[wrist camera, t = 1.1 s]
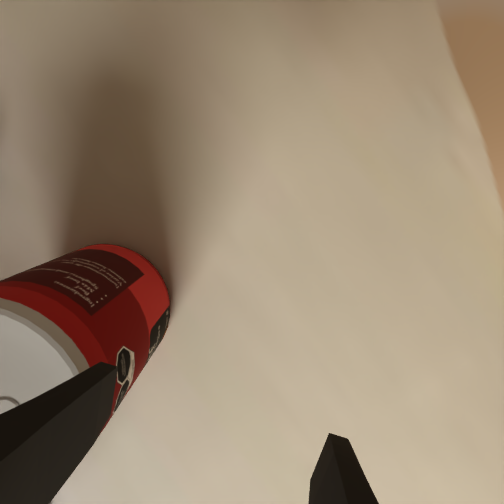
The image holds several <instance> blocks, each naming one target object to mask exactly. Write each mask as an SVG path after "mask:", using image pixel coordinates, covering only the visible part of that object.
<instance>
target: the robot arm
mask: <svg viewBox="0 0 504 504" xmlns="http://www.w3.org/2000/svg"><path fill="white" fill-rule="evenodd" d="M117 371H118V367H117V366H114V365H111V364H108V363H104V362H99V363H97V364H95V365H93V366H92V367H90V368H88V369H86V370H85V371H83V372H81V373H79V374H77V375H76V376H74V377H72V378H70V379H69V380H67V381H65V382H63V383H61V384H59V385H58V386H56V387H54V388H52V389H50V390H48V391H46V392H45V393H43V394H41V395H39V396H37V397H35V398H33V399H31V400H29V401H27V402H25V403H23V404H21V405H19V406H16V407H14V408H12V409H10V410H8V411H6V412H4V413H2V414H0V504H50V502H51V500H52V499H53V498H54V496H55V495H56V494H57V492H58V491H59V490H60V488H61V487H62V486H63V484H64V483H65V482H66V480H67V479H68V478H69V477H70V475H71V474H72V473H73V471H74V470H75V469H76V467H77V466H78V465H79V463H80V462H81V461H82V459H83V458H84V456H85V455H86V454H87V452H88V451H89V450H90V448H91V447H92V446H93V444H94V443H95V441H96V439H97V438H98V436H99V434H100V433H101V431H102V429H103V428H104V426H105V424H106V422H107V421H108V419H109V417H110V415H111V410H112V404H113V397H114V391H115V384H116V378H117ZM309 504H379V503H378V501H377V499H376V497H375V495H374V493H373V491H372V489H371V487H370V485H369V483H368V481H367V479H366V477H365V475H364V472H363V470H362V468H361V466H360V464H359V462H358V459H357V457H356V455H355V453H354V451H353V448H352V446H351V444H350V442H349V440H348V439H347V438H344V437H340V436H337V435H334V434H331V433H329V435H328V437H327V440H326V442H325V445H324V447H323V450H322V452H321V455H320V457H319V460H318V462H317V465H316V467H315V470H314V472H313V475H312V477H311V480H310V492H309Z"/></svg>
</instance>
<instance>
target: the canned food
mask: <svg viewBox="0 0 504 504" xmlns="http://www.w3.org/2000/svg"><path fill="white" fill-rule="evenodd" d="M169 318H170V300H169V295H168V291H167V288H166V285H165V283H164V280H163V278H162V277H161V275H160V274H159V272H158V271H157V269H156V268H155V267H154V266H153V265H152V264H151V263H150V262H149V261H148V260H147V259H145V258H144V257H143V256H141V255H140V254H138V253H136V252H134V251H132V250H130V249H127V248H124V247H120V246H116V245H108V244H97V245H90V246H87V247H84V248H82V249H79V250H76V251H74V252H71V253H69V254H66V255H64V256H61V257H59V258H56V259H54V260H51V261H49V262H46V263H44V264H41V265H39V266H36V267H34V268H31V269H29V270H26V271H24V272H21V273H19V274H16V275H14V276H11V277H9V278H6V279H4V280H1V281H0V414H2V413H4V412H6V411H8V410H10V409H12V408H14V407H16V406H19V405H21V404H23V403H25V402H27V401H29V400H31V399H33V398H35V397H37V396H39V395H41V394H43V393H45V392H46V391H48V390H50V389H52V388H54V387H56V386H58V385H59V384H61V383H63V382H65V381H67V380H69V379H70V378H72V377H74V376H76V375H77V374H79V373H81V372H83V371H85V370H86V369H88V368H90V367H92V366H93V365H95V364H97V363H99V362H104V363H108V364H111V365H114V366H117V367H118V371H117V378H116V384H115V391H114V397H113V404H112V410H111V415H110V417H109V419H108V421H107V422H106V424H105V426H106V425H107V423H108V422H109V420H110V418H111V417H112V415H113V414H114V412H115V411H116V409H117V408H118V406H119V405H120V403H121V402H122V400H123V399H124V397H125V396H126V394H127V392H128V391H129V389H130V388H131V386H132V385H133V383H134V382H135V380H136V379H137V377H138V376H139V374H140V373H141V371H142V370H143V368H144V367H145V365H146V363H147V362H148V360H149V359H150V357H151V356H152V354H153V353H154V351H155V350H156V348H157V347H158V345H159V344H160V342H161V341H162V339H163V337H164V335H165V333H166V330H167V328H168V323H169ZM105 426H104V428H105ZM104 428H103V429H104ZM103 429H102V430H103ZM101 432H102V431H101ZM99 435H100V434H99Z"/></svg>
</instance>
